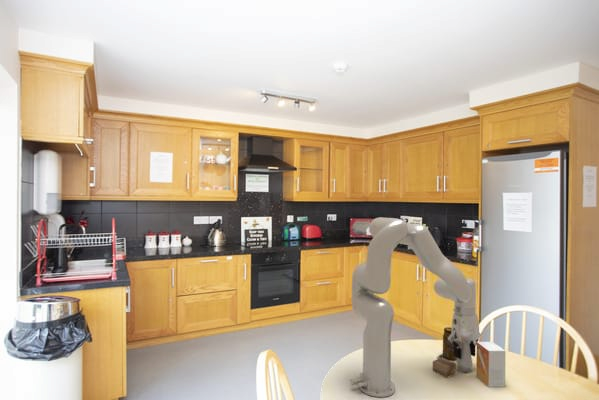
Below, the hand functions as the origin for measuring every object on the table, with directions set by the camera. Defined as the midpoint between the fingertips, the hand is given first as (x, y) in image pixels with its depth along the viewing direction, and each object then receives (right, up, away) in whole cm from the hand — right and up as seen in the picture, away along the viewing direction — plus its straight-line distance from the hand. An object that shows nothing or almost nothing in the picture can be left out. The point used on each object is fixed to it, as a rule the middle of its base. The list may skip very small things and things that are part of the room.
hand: (464, 355), depth 135 cm
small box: (+5, -6, -9) cm, 12 cm away
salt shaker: (0, -6, 0) cm, 6 cm away
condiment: (-2, -6, +10) cm, 12 cm away
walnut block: (-9, -6, -2) cm, 11 cm away
